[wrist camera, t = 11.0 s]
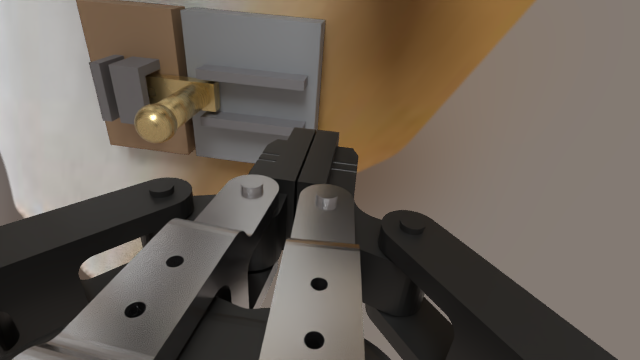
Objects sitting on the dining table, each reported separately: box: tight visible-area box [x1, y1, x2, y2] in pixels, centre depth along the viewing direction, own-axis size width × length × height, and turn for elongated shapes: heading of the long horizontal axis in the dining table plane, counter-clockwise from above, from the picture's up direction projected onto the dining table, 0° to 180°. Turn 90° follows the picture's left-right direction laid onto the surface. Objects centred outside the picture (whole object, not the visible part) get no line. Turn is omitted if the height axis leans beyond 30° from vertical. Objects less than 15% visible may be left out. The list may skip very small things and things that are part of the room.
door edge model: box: [76, 0, 325, 163], centre depth 39 cm, size 25×16×7 cm, turn 86°
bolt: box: [134, 73, 221, 143], centre depth 35 cm, size 9×3×11 cm, turn 86°
